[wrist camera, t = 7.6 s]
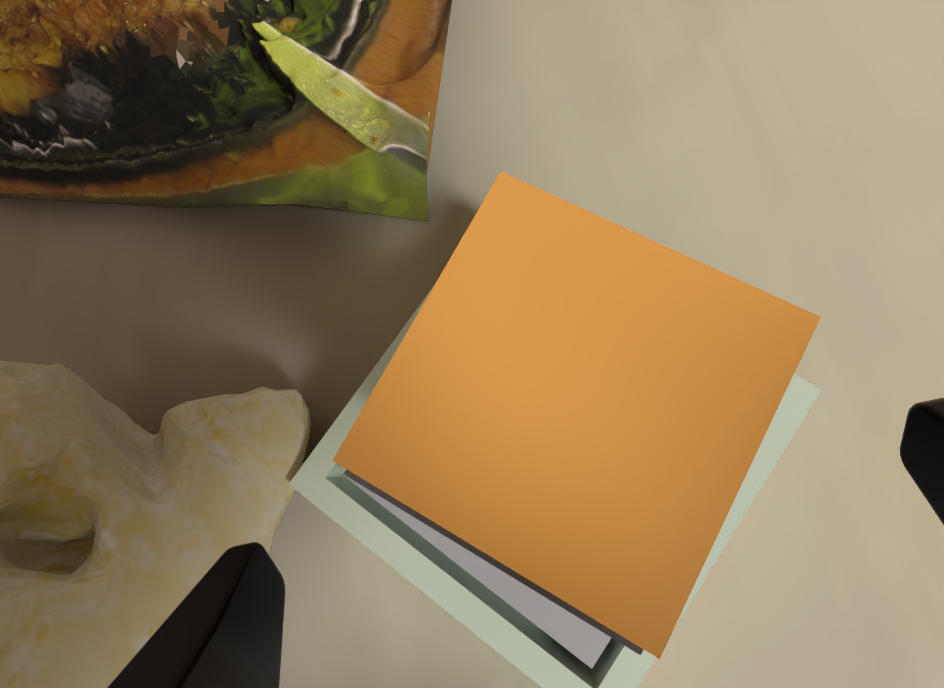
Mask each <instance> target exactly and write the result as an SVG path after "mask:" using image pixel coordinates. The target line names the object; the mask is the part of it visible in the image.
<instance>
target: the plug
mask: <svg viewBox="0 0 944 688" xmlns="http://www.w3.org/2000/svg"><path fill="white" fill-rule="evenodd" d="M819 320H820V317H819V316H817V315H815V314H813V313H811V312H808V311H806V310H804V309H802V308H800V307H797V306H795V305H793V304H791V303H789V302H786V301H784V300H782V299H780V298H778V297H775V296H773V295H771V294H769V293H767V292H765V291H762V290H760V289H758V288H756V287H754V286H751V285H749V284H747V283H745V282H743V281H740V280H738V279H736V278H734V277H732V276H729V275H727V274H725V273H723V272H721V271H718V270H716V269H714V268H712V267H710V266H707V265H705V264H703V263H701V262H699V261H696V260H694V259H692V258H690V257H688V256H685V255H683V254H681V253H679V252H677V251H675V250H672V249H670V248H668V247H666V246H664V245H661V244H659V243H657V242H655V241H653V240H650V239H648V238H646V237H644V236H642V235H639V234H637V233H635V232H633V231H631V230H628V229H626V228H624V227H622V226H620V225H617V224H615V223H613V222H611V221H609V220H606V219H604V218H602V217H600V216H598V215H595V214H593V213H591V212H589V211H587V210H584V209H582V208H580V207H578V206H576V205H574V204H571V203H569V202H567V201H565V200H563V199H560V198H558V197H556V196H554V195H552V194H549V193H547V192H545V191H543V190H541V189H538V188H536V187H534V186H532V185H530V184H527V183H525V182H523V181H521V180H519V179H516V178H514V177H512V176H510V175H508V174H505V173H503V172H500V174H499V175H498V177H497V179H496V181H495V182H494V184H493V186H492V187H491V189H490V191H489V193H488V194H487V196H486V198H485V199H484V201H483V203H482V205H481V206H480V208H479V210H478V211H477V213H476V215H475V217H474V218H473V220H472V222H471V223H470V225H469V227H468V229H467V230H466V232H465V234H464V235H463V237H462V239H461V241H460V242H459V244H458V246H457V247H456V249H455V251H454V253H453V254H452V256H451V258H450V259H449V261H448V263H447V265H446V266H445V268H444V270H443V271H442V273H441V275H440V277H439V278H438V280H437V282H436V283H435V285H434V287H433V289H432V290H431V292H430V294H429V295H428V297H427V299H426V301H425V302H424V304H423V306H422V307H421V309H420V311H419V313H418V314H417V316H416V318H415V319H414V321H413V323H412V325H411V326H410V328H409V330H408V331H407V333H406V335H405V337H404V338H403V340H402V342H401V343H400V345H399V347H398V349H397V350H396V352H395V354H394V355H393V357H392V359H391V361H390V362H389V364H388V366H387V367H386V369H385V371H384V373H383V374H382V376H381V378H380V379H379V381H378V383H377V385H376V386H375V388H374V390H373V391H372V393H371V395H370V397H369V398H368V400H367V402H366V403H365V405H364V407H363V409H362V410H361V412H360V414H359V415H358V417H357V419H356V421H355V422H354V424H353V426H352V427H351V429H350V431H349V433H348V434H347V436H346V438H345V439H344V441H343V443H342V445H341V446H340V448H339V450H338V451H337V453H336V455H335V457H334V458H333V460H332V461H334V462H336V463H337V464H339V465H341V466H342V467H344V468H346V470H345V472H344V475H346V476H347V477H349V478H350V479H352V480H354V481H355V482H357V483H359V484H360V485H362V486H364V487H365V488H367V489H368V490H370V491H372V492H373V493H375V494H377V495H378V496H380V497H382V498H383V499H385V500H386V501H388V502H390V503H391V504H393V505H395V506H396V507H398V508H400V509H401V510H403V511H405V512H406V513H408V514H409V515H411V516H413V517H414V518H416V519H418V520H419V521H421V522H423V523H424V524H426V525H427V526H429V527H431V528H432V529H434V530H436V531H437V532H439V533H441V534H442V535H444V536H446V537H447V538H449V539H450V540H452V541H454V542H455V543H457V544H459V545H460V546H462V547H464V548H465V549H467V550H468V551H470V552H472V553H473V554H475V555H477V556H478V557H480V558H482V559H483V560H485V561H486V562H488V563H490V564H491V565H493V566H495V567H496V568H498V569H500V570H501V571H503V572H505V573H506V574H508V575H509V576H511V577H513V578H514V579H516V580H518V581H519V582H521V583H523V584H524V585H526V586H527V587H529V588H531V589H532V590H534V591H536V592H537V593H539V594H541V595H542V596H544V597H546V598H547V599H549V600H550V601H552V602H554V603H555V604H557V605H559V606H560V607H562V608H564V609H565V610H567V611H568V612H570V613H572V614H573V615H575V616H577V617H578V618H580V619H582V620H583V621H585V622H586V623H588V624H590V625H591V626H593V627H595V628H596V629H598V630H600V631H601V632H603V633H605V634H606V635H608V636H609V637H611V638H613V639H614V640H616V641H618V642H619V643H621V644H623V645H624V646H626V647H627V648H629V649H631V650H632V651H634V652H636V653H637V654H639V655H641V654H642V652H643V650H645V651H647V652H649V653H650V654H652V655H654V656H655V657H657V658H659V659H660V657H661V655H662V653H663V651H664V648H665V646H666V644H667V642H668V640H669V638H670V636H671V634H672V631H673V629H674V627H675V625H676V623H677V621H678V619H679V617H680V614H681V612H682V610H683V608H684V606H685V604H686V602H687V600H688V597H689V595H690V593H691V591H692V589H693V587H694V585H695V583H696V580H697V578H698V576H699V574H700V572H701V570H702V568H703V566H704V564H705V561H706V559H707V557H708V555H709V553H710V551H711V549H712V547H713V544H714V542H715V540H716V538H717V536H718V534H719V532H720V530H721V527H722V525H723V523H724V521H725V519H726V517H727V515H728V513H729V510H730V508H731V506H732V504H733V502H734V500H735V498H736V496H737V494H738V491H739V489H740V487H741V485H742V483H743V481H744V479H745V477H746V474H747V472H748V470H749V468H750V466H751V464H752V462H753V460H754V457H755V455H756V453H757V451H758V449H759V447H760V445H761V443H762V440H763V438H764V436H765V434H766V432H767V430H768V428H769V426H770V423H771V421H772V419H773V417H774V415H775V413H776V411H777V409H778V407H779V404H780V402H781V400H782V398H783V396H784V394H785V392H786V390H787V387H788V385H789V383H790V381H791V379H792V377H793V375H794V373H795V370H796V368H797V366H798V364H799V362H800V360H801V358H802V356H803V353H804V351H805V349H806V347H807V345H808V343H809V341H810V339H811V337H812V334H813V332H814V330H815V328H816V326H817V324H818V322H819Z"/></svg>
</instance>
